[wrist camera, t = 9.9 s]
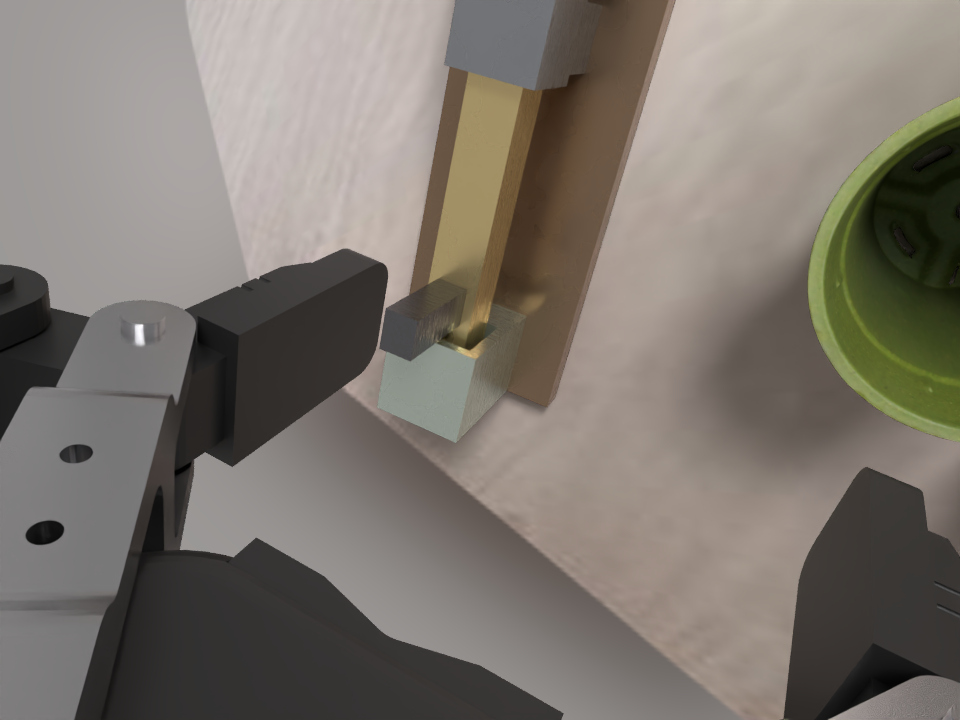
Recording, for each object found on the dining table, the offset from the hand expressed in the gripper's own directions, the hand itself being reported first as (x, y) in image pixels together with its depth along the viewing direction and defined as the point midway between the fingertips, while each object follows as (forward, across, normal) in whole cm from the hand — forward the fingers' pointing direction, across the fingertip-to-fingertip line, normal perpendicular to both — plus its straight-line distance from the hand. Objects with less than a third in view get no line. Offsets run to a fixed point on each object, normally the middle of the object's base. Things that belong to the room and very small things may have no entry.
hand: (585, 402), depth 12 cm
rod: (+23, +11, +6) cm, 26 cm away
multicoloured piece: (+28, +11, +2) cm, 30 cm away
